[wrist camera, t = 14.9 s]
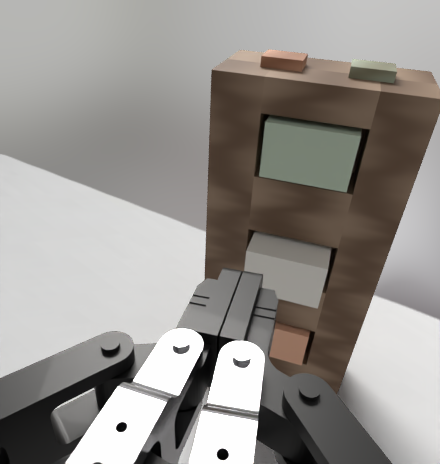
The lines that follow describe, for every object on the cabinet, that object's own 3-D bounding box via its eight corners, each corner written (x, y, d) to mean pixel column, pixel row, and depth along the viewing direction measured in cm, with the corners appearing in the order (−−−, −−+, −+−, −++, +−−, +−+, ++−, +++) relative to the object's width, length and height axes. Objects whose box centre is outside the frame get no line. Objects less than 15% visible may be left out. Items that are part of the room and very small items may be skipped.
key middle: (242, 289, 28) (246, 250, 26) (253, 262, 30) (257, 224, 28) (317, 308, 27) (328, 269, 25) (322, 278, 29) (332, 240, 27)
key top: (258, 176, 25) (265, 121, 23) (269, 155, 27) (276, 105, 25) (346, 192, 23) (361, 136, 21) (349, 169, 26) (362, 117, 24)
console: (201, 371, 38) (212, 58, 22) (220, 325, 43) (240, 40, 27) (331, 410, 35) (449, 86, 19) (336, 356, 40) (434, 61, 24)
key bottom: (239, 347, 34) (242, 319, 32) (248, 320, 36) (252, 293, 34) (301, 365, 33) (308, 337, 31) (306, 336, 35) (313, 308, 33)
